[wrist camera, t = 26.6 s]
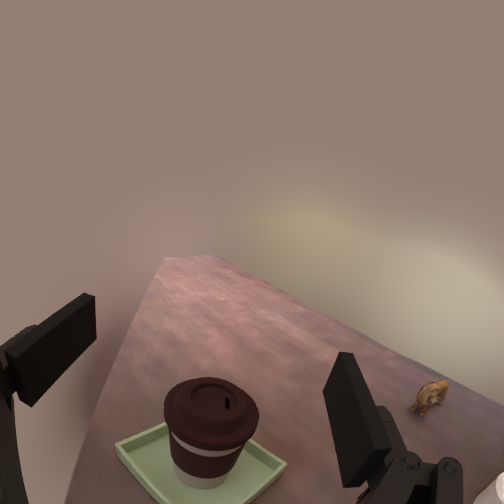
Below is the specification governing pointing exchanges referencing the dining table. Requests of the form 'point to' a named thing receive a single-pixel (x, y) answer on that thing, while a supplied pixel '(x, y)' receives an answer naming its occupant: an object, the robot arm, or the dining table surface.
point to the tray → (183, 495)
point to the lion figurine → (430, 395)
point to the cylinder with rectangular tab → (492, 492)
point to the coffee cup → (208, 428)
